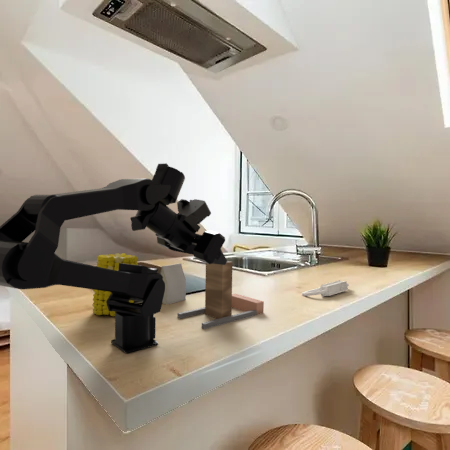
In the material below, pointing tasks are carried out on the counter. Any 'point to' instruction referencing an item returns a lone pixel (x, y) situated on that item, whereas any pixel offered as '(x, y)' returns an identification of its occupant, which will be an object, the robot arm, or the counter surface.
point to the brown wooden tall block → (218, 290)
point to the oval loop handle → (328, 289)
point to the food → (113, 264)
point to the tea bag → (173, 283)
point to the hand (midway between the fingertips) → (212, 258)
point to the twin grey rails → (238, 302)
